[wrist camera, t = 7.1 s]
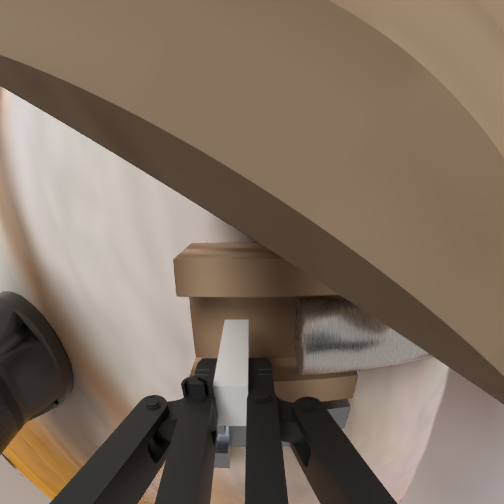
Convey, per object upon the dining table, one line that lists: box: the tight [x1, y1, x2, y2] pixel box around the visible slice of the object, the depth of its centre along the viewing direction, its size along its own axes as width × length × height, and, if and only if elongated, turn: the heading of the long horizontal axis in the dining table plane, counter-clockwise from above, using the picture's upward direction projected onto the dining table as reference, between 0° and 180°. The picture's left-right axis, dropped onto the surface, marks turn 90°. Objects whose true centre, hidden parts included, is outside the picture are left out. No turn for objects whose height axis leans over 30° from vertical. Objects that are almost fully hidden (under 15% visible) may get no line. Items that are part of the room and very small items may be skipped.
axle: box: [295, 298, 433, 376], centre depth 17 cm, size 14×5×5 cm, turn 91°
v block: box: [214, 399, 350, 468], centre depth 22 cm, size 13×9×4 cm
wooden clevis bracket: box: [173, 242, 358, 403], centre depth 19 cm, size 20×11×5 cm, turn 91°
